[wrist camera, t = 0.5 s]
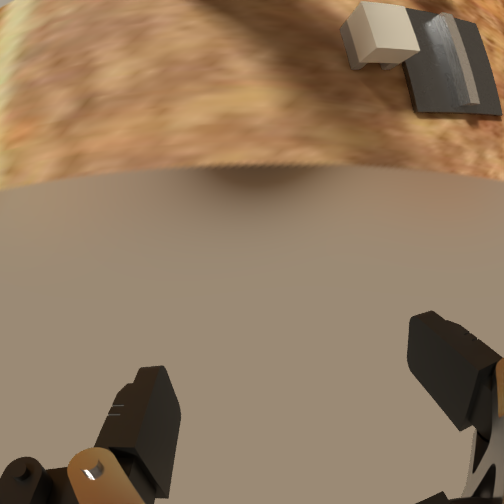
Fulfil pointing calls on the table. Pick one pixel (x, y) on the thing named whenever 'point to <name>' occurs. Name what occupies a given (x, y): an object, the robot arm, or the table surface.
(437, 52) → the rail board
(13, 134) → the table surface
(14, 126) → the table surface
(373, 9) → the block
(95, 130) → the table surface
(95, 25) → the table surface
